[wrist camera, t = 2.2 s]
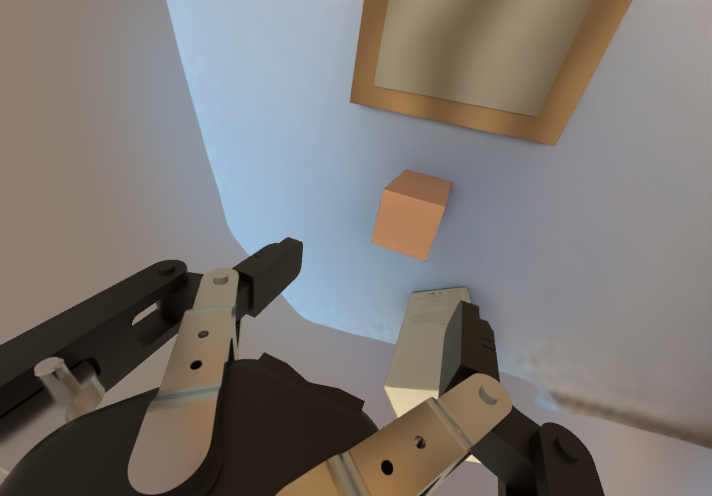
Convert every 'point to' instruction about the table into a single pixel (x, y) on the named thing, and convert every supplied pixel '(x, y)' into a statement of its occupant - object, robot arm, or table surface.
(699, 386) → the table surface
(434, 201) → the terracotta block
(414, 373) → the small box
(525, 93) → the walnut plinth
